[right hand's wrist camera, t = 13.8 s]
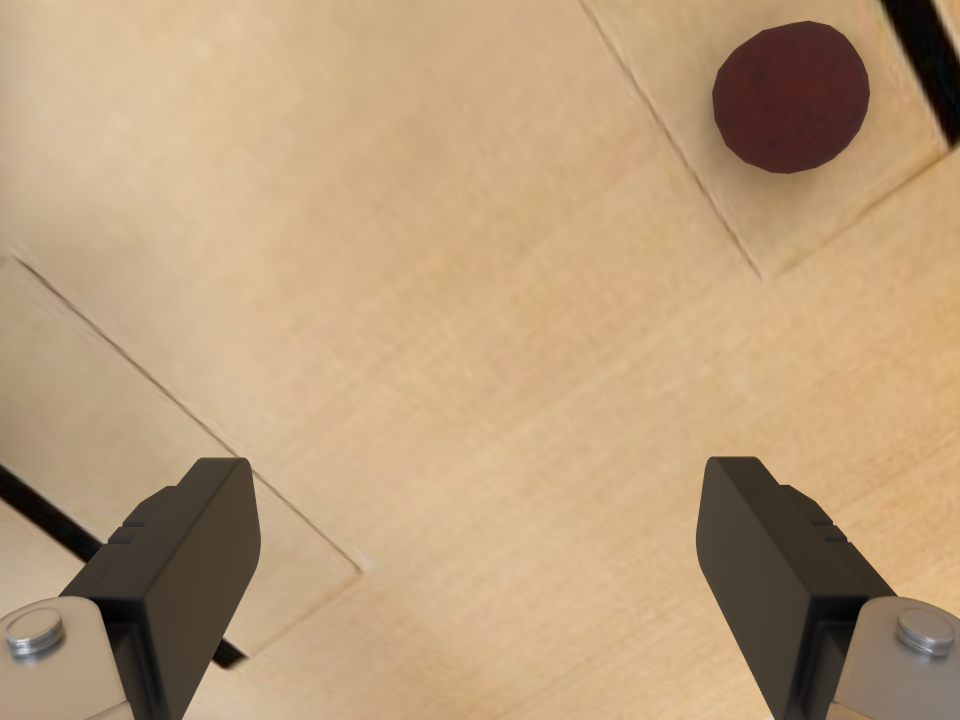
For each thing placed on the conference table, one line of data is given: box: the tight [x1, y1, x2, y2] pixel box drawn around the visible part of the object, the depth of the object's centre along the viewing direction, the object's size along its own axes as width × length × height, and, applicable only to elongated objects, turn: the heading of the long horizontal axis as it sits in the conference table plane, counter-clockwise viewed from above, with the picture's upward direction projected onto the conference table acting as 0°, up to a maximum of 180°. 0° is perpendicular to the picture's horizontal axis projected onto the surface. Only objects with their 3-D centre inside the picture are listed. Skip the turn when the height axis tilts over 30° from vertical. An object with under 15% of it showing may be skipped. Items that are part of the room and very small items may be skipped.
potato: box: [712, 21, 870, 174], centre depth 34 cm, size 7×8×7 cm
